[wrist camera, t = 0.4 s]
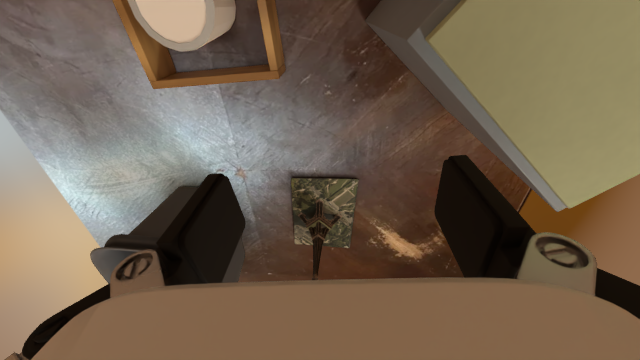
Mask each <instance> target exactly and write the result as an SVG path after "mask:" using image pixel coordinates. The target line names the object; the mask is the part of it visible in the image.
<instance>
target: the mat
mask: <svg viewBox="0 0 640 360" xmlns="http://www.w3.org/2000/svg"><path fill="white" fill-rule="evenodd" d="M425 40H426V41H427V43H428V44H429V45H430V46H431V47H432V49H433V50H434V51H435V52H436V53H437V54H438V56H439V57H440V58H441V59H442V60H443V62H444V63H445V64H446V65H447V66H448V67H449V69H450V70H451V71H452V72H453V73H454V75H455V76H456V77H457V78H458V79H459V81H460V82H461V83H462V84H463V85H464V86H465V88H466V89H467V90H468V91H469V92H470V94H471V95H472V96H473V97H474V98H475V100H476V101H477V102H478V103H479V104H480V105H481V107H482V108H483V109H484V110H485V111H486V113H487V114H488V115H489V116H490V117H491V118H492V120H493V121H494V122H495V123H496V124H497V126H498V127H499V128H500V129H501V130H502V132H503V133H504V134H505V135H506V136H507V137H508V139H509V140H510V141H511V142H512V143H513V145H514V146H515V147H516V148H517V149H518V151H519V152H520V153H521V154H522V155H523V156H524V158H525V159H526V160H527V161H528V162H529V164H530V165H531V166H532V167H533V168H534V169H535V171H536V172H537V173H538V174H539V175H540V177H541V178H542V179H543V180H544V181H545V183H546V184H547V185H548V186H549V187H550V188H551V190H552V191H553V192H554V193H555V194H556V196H557V197H558V198H559V199H560V200H561V202H562V203H563V204H564V205H565V206H567V207H568V208H572V207H574V206H576V205H578V204H580V203H582V202H584V201H586V200H588V199H590V198H592V197H594V196H596V195H598V194H600V193H602V192H604V191H606V190H608V189H610V188H612V187H614V186H616V185H618V184H620V183H622V182H624V181H626V180H628V179H630V178H632V177H634V176H636V175H638V174H640V0H461V1H460V2H459V3H458V4H457V6H456V7H455V8H454V9H453V10H452V11H451V12H450V13H449V14H448V15H447V16H446V17H445V18H444V19H443V20H442V21H441V22H440V23H439V24H438V25H437V26H436V27H435V28H434V30H433V31H432V32H431V33H430V34H429V35H428V36H427V37H426V38H425Z"/></svg>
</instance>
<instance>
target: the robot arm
mask: <svg viewBox="0 0 640 360" xmlns="http://www.w3.org/2000/svg"><path fill="white" fill-rule="evenodd" d="M435 217H436V219H437V221H438V223H439V225H440V227H441V230H442V232H443V234H444V236H445V238H446V240H447V242H448V244H449V246H450V248H451V250H452V252H453V254H454V257H455V259H456V261H457V263H458V265H459V267H460V269H461V271H462V273H463V275H464V277H465V278H396V279H348V280H307V281H270V282H236V283H222V281H223V279H224V276H225V274H226V271H227V269H228V266H229V264H230V262H231V259H232V257H233V254H234V252H235V250H236V247H237V245H238V242H239V240H240V238H241V235H242V233H243V230H244V228H245V219H244V216H243V214H242V211H241V209H240V206H239V203H238V201H237V198H236V196H235V193H234V191H233V188H232V186H231V183H230V181H229V179H228V177H227V176H224V175H223V174H209V175H208V176H207V177H206V178H205V180H204V181H203V182H202V183H201V185H200V186H199V187H198V189H197V190H196V191H195V193H194V194H193V195H192V197H191V198H190V199H189V200H188V202H187V203H186V204H185V206H184V207H183V208H182V210H181V211H180V212H179V213H178V215H177V216H176V217H175V219H174V220H173V221H172V223H171V224H170V225H169V227H168V228H167V229H166V230H165V232H164V233H163V234H162V236H161V237H160V238H159V240H158V241H157V242H156V244H157V245H158V248H157V249H156V251H154V250H152V249H145V250H140V251H138V252H135V253H133V254H131V255H129V256H128V257H126V258H125V259H124V260H122V261H121V262H120V263H119V264H118V265H117V266H116V267H115V268H114V270H113V272H112V273H111V277H110V284H108V285H106V286H104V287H103V288H101V289H99V290H97V291H95V292H94V293H92V294H90V295H89V296H87V297H85V298H83V299H81V300H80V301H78V302H76V303H74V304H73V305H71V306H69V307H67V308H66V309H64V310H62V311H60V312H59V313H57V314H55V315H53V316H52V317H50V318H49V319H47V320H46V321H44V322H43V323H42V324H40V325H39V326H38V327H37V328H36V330H34V332H33V333H32V334H31V335H30V336H29V338H28V339H27V341H26V342H25V343H24V346H23V349H22V353H20V354H17V353H13V354H11V355H10V356H9V357H8V358H6V359H5V360H640V286H639V285H636V284H634V283H631V282H629V281H627V280H625V279H622V278H620V277H617V276H615V275H613V274H610V273H608V272H605V271H603V270H601V269H598V268H597V262H596V258H595V257H594V255H593V254H592V253H591V252H590V251H589V250H588V249H587V248H586V247H585V246H583V245H582V244H580V243H578V242H576V241H575V240H573V239H570V238H568V237H566V236H562V235H559V234H555V233H538V234H536V233H535V232H534V230H533V229H532V228H531V227H530V226H529V225H528V223H527V222H526V221H525V220H524V219H523V218H522V217H521V216H520V214H519V213H518V212H517V211H516V210H515V209H514V208H513V207H512V205H511V204H510V203H509V202H508V201H507V200H506V199H505V198H504V197H503V195H502V194H501V193H500V192H499V191H498V190H497V189H496V188H495V187H494V185H493V184H492V183H491V182H490V181H489V180H488V179H487V178H486V176H485V175H484V174H483V173H482V172H481V171H480V170H479V169H478V168H477V166H476V165H475V164H474V163H473V162H472V161H471V160H470V159H469V158H468V156H466V155H459V156H450V157H449V158H448V160H445V161H444V163H443V168H442V173H441V178H440V184H439V189H438V194H437V199H436V205H435Z"/></svg>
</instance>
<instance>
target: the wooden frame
mask: <svg viewBox="0 0 640 360" xmlns="http://www.w3.org/2000/svg"><path fill="white" fill-rule="evenodd" d="M112 1H113V3H114V5H115V7H116V10H117V12H118V14H119V16H120V18H121V20H122V23H123V25H124V27H125V29H126V31H127V33H128V36H129V38H130V40H131V42H132V44H133V46H134V49H135V51H136V53H137V55H138V57H139V59H140V62H141V64H142V66H143V68H144V70H145V72H146V75H147V77H148V79H149V81H150V83H151V85H152V87H153V89H161V88H173V87H185V86H197V85H209V84H221V83H233V82H245V81H257V80H269V79H279V78H280V77H281V76H282V74H283V73H284V72H285V71H286V68H285V63H284V55H283V49H282V43H281V36H280V30H279V23H278V17H277V11H276V4H275V0H257V4H258V10H259V15H260V20H261V25H262V31H263V36H264V41H265V46H266V52H267V57H268V62H269V64H267V65H256V66H245V67H234V68H222V69H211V70H200V71H189V72H177V73H176V69H175V67H174V64H173V62H172V59H171V56H170V54H169V51H168V49H167V47H165V46H163V45H162V44H160V43H159V42H158V41H156V40H155V39H154V38H152V37H151V36H149V35H148V33H147V32H146V31H145V30H144V28H143V27H142V26H141V25H140V23H139V22H138V21H137V20H136V18H135V16H134V14H133V12H132V10H131V7H130V5H129V3H128V1H127V0H112Z"/></svg>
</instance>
